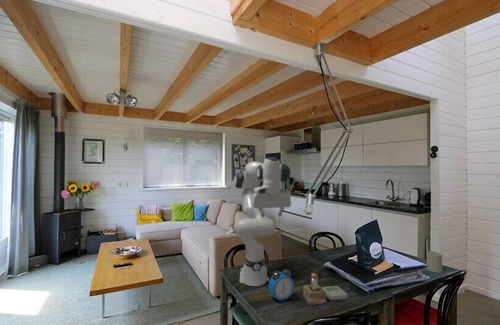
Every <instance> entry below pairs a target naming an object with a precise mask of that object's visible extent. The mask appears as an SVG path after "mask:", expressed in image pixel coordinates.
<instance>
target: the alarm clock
mask: <svg viewBox="0 0 500 325" xmlns="http://www.w3.org/2000/svg"><path fill="white" fill-rule="evenodd" d="M291 272H292V271H290V270H289V269H283V270H282V271H278V270H275V271H273V272H272V273H271V277H270V278H269V281H268V291H269V292H270V294H271V295H272V296H273V297H274V298H275V299H276V300H277V302H279V301H282V302H283V301H285V300H289V299H290V297H291V296H292V295H293V293H294V290H295V282H294V280H293V278H292V277H291V276H292V273H291Z"/></svg>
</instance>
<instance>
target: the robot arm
mask: <svg viewBox="0 0 500 325" xmlns="http://www.w3.org/2000/svg"><path fill="white" fill-rule="evenodd" d="M263 160H264V161H263V163H262V162H260V161H250V162H248V163H246V164H245V166H244V170H243V171H242V170H241V171H240V172H238V173H236V174H235V175H234V178H233V184H234V186H235V188H236V189H240V190H241V189H243V190H242V193H241V202H242V203H241V205H242V208H243V209H242V211H243V215H245V216H246V217H247V218H243V219H239V220H237V221H236V222H235V224H234V232H235V235H237V237H239V238H240V239H241V240H242V241H243V243H244V246H245V258H244V264H243V267H240V272H239V283H240V284H243V285H247V286H249V287H250V286H251V287H260V286H263V285H265V284H266V283H267V282H269V281H270V277H268V276H267V270H268V269H267V266H266V265H265V257H264V255H265V254H264V252H265V251H264V248H265V247H264V245H263V244H262V242H260V241H258V240H256V239H255V237H267V236H272V235H273V234H274V233H275V232H276V224H275V222H274V220H273V219H272V218H270V217H268V216H267V215H265V213H264V212H263V209H273V208H275V209H277V208H279V209H280V210H279V212H277V215H278V217H283V212H284V211H285V208H291V206H292V201H291V196H292V195H291V193H292V192H291V191H290V190H289V189H288V188H281V182H282V183H285V182H287V181H288V180H289V179H290V178H291V174H292V172H291V167H289V166H288V165H287V164H286V163H281V162H280V159H279V158H277V157H271V156H268V157H265V158H264V159H263Z"/></svg>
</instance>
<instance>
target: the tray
mask: <svg viewBox="0 0 500 325" xmlns="http://www.w3.org/2000/svg"><path fill="white" fill-rule="evenodd" d="M321 288H322V289H323V290H324V291H325V292H326V298H327V299H329V301H331V302H333V301H332V300H334V301H341V300H348V299H349V298H348V294H347V292H346V291H344V290H343V289H342V288H341V287H339V286H338V285H334V286H333V285H332V286H324V287H323V286H322V287H321Z"/></svg>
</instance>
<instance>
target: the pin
mask: <svg viewBox="0 0 500 325" xmlns="http://www.w3.org/2000/svg"><path fill="white" fill-rule="evenodd" d="M310 274H311V275H310V276H311V277H310V278H311V280H310V282H311V283H310V285H311V291H317V284H318V273H317V272H311V273H310Z"/></svg>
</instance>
